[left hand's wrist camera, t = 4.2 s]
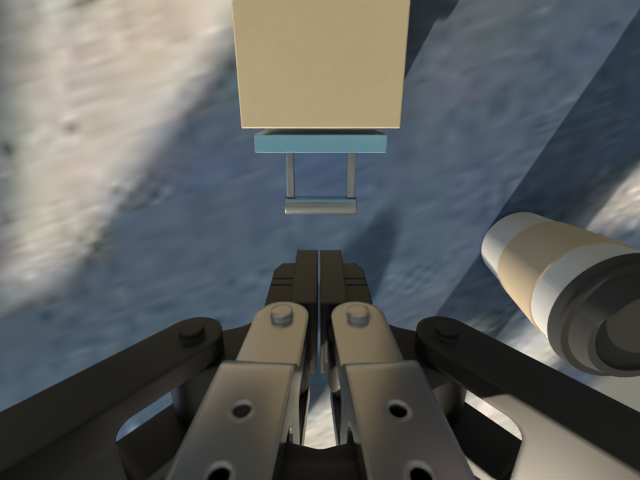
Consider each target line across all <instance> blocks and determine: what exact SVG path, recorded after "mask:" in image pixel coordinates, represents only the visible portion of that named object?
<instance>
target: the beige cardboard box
mask: <svg viewBox="0 0 640 480" xmlns="http://www.w3.org/2000/svg"><path fill="white" fill-rule="evenodd" d="M231 1H232V13H233V26H234V38H235V50H236V63H237V75H238V88H239V100H240V113H241V125H242V128H400V123H401V111H402V99H403V86H404V74H405V62H406V50H407V38H408V26H409V13H410V1H411V0H231Z"/></svg>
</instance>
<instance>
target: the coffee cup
mask: <svg viewBox="0 0 640 480" xmlns="http://www.w3.org/2000/svg"><path fill="white" fill-rule="evenodd" d="M482 257H483V260H484V262H485V264H486V265H487V266H488V267H489V269H490V270H491V271H492V272H493V273H494V275H495V276H496V277H497V278H498V279H499V281H500V283H501V285H502V287H503V288H504V289H505V290H506V292H507V293H508V294H509V295H510V296H511V298H512V299H513V300H514V301H515V302H516V304H517V305H518V306H519V307H520V308H521V310H522V311H523V312H524V313H525V315H526V316H527V317H528V318H529V319H530V321H531V322H532V323H533V324H534V325H535V327H536V328H537V329H538V330H539V331H540V332H541V333H542V334H544V335H545V336H546V337H547V338H548V339H549V342H550V345H551V347H552V348H553V350H554V351H555V353H556V354H557V355H558V356H559V357H560V358H562V359H563V360H565V361H566V362H567V363H568V364H569V365H570V366H572V367H573V368H575V369H577V370H579V371H581V372H584V373H587V374H592V375H599V376H615V377H634V376H640V252H639V251H638V250H636V249H635V248H633V247H632V246H630V245H627V244H624V243H622V242H619V241H616V240H613V239H610V238H607V237H604V236H601V235H599V234H596V233H593V232H590V231H587V230H584V229H581V228H579V227H576V226H573V225H570V224H567V223H564V222H558V221H553V220H551V219H548V218H545V217H542V216H540V215H537V214H534V213H530V212H518V213H513V214H510V215H508V216H506V217H504V218H502V219H500V220H499V221H498V222H496V223H495V224H494V225H493V226H492V227H491V228H490V229H489V231H488V232H487V234H486V235H485V237H484V240H483V243H482Z"/></svg>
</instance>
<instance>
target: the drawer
mask: <svg viewBox="0 0 640 480" xmlns="http://www.w3.org/2000/svg"><path fill="white" fill-rule="evenodd" d="M387 136H388V135H386V134H384V133H381V132H379V131H376V130H374V129H268V130H265V131H263V132H260V133H258V134H256V135H254V140H255V152H256V153H286V174H287V197H285V214H286V215H355V214H356V211H357V199H356V197H354V189H355V162H356V153H386V150H387ZM294 153H348V160H347V194H346V196H347V197H295V178H294Z"/></svg>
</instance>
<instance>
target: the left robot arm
mask: <svg viewBox="0 0 640 480" xmlns="http://www.w3.org/2000/svg"><path fill="white" fill-rule="evenodd" d="M320 319H321V374H328V385H329V388H330V400H331V408H332V416H333V423H334V431H335V439H336V446H334V447H330V448H326V449H314V448H310V447H306V446H304V439H305V431H306V423H307V416H308V408H309V400H310V374H317V340H318V250H297V256H296V263H282V264H281V265H280V266H279V267H278V268H277V269H275V271H274V274H273V279H272V282H271V286H270V289H269V292H268V296H267V299H266V303H265V306H264V307H262V308H261V309H260V310H259V311H258V312H257V313H256V315H255V317H254V320H253V322H252V323H250V324H248V325H246V326H243V327H239V328H235V329H230V330H225V331H222V326H221V324H220V323H219V322H218V321H217V320H214V319H212V318H207V317H196V318H190V319H186V320H183V321H180V322H178V323H176V324H174V325H172V326H170V327H168V328H166V329H164V330H162V331H160V332H158V333H156V334H154V335H152V336H150V337H148V338H146V339H144V340H142V341H140V342H138V343H136V344H134V345H132V346H130V347H128V348H126V349H125V350H123V351H121V352H119V353H117V354H115V355H113V356H111V357H109V358H107V359H105V360H103V361H101V362H99V363H97V364H95V365H93V366H91V367H89V368H87V369H85V370H83V371H81V372H79V373H77V374H75V375H73V376H71V377H69V378H67V379H65V380H63V381H61V382H59V383H57V384H55V385H53V386H51V387H49V388H47V389H45V390H43V391H41V392H40V393H38V394H36V395H34V396H32V397H30V398H28V399H26V400H24V401H22V402H20V403H18V404H16V405H14V406H12V407H10V408H8V409H6V410H4V411H2V412H0V480H640V412H638V411H636V410H634V409H632V408H630V407H628V406H626V405H624V404H622V403H620V402H618V401H616V400H614V399H612V398H610V397H608V396H606V395H604V394H602V393H600V392H598V391H597V390H595V389H593V388H591V387H589V386H587V385H585V384H583V383H581V382H579V381H577V380H575V379H573V378H571V377H569V376H567V375H565V374H563V373H561V372H559V371H557V370H555V369H553V368H551V367H549V366H547V365H545V364H543V363H541V362H539V361H537V360H535V359H533V358H531V357H529V356H527V355H525V354H523V353H521V352H519V351H517V350H515V349H513V348H512V347H510V346H508V345H506V344H504V343H502V342H500V341H498V340H496V339H494V338H492V337H490V336H488V335H486V334H484V333H482V332H480V331H478V330H476V329H474V328H472V327H470V326H468V325H466V324H464V323H462V322H460V321H458V320H455V319H451V318H447V317H438V316H437V317H428V318H425V319H423V320H421V321H420V322H419V323H418V325H417V328H416V331H412V330H407V329H402V328H398V327H395V326H392V325H389V324H388V322H387V320H386V317H385V315H384V313H383V312H382V311H381V310H380V309H379V308H378V307H376V306H374V305H373V304H372V300H371V296H370V293H369V289H368V286H367V281H366V278H365V274H364V270H363V269H361V268H360V267H359V266H358V265H357V264H343V262H342V256H341V250H320ZM467 390H468V391H470V392H472V393H473V394H475V395H476V396H478V397H479V398H481V399H482V400H484V401H485V402H487V403H488V404H490V405H491V406H493V407H494V408H496V409H497V410H499V411H500V412H502V413H504V414H505V415H507V416H508V417H509V418H510V419H511V420H513V422H514V423H515V424H516V425H517V427H518V428H519V430H520V432H521V435H522V441H521V440H520V439H518V438H517V437H515V436H514V435H513V434H511V433H510V432H508V431H507V430H505V429H504V428H502V427H501V426H499V425H498V424H497V423H495V422H494V421H492V420H491V419H489V418H488V417H486V416H485V415H483V414H482V413H481V412H479V411H478V410H476V409H475V408H473V407H472V406H470V405H469V404H467V403H466V402H465V396H466V391H467ZM170 391H171V395H172V400H173V404H171V405H170V406H168V407H167V408H165V409H164V410H162V411H161V412H159V413H158V414H157V415H155V416H154V417H152V418H151V419H149V420H148V421H146V422H145V423H143V424H142V425H141V426H139V427H138V428H136V429H135V430H133V431H132V432H130V433H129V434H127V435H126V436H125V437H123V438H122V439H120V440H119V441H117V442H116V436H117V433H118V431H119V429H120V428H121V426H122V425H123V424H124V423H125V422H126V421H127V420H128V419H129V418H131V417H132V416H133V415H135V414H136V413H138V412H139V411H141V410H143V409H144V408H146V407H147V406H149V405H150V404H152V403H153V402H155V401H156V400H158V399H159V398H161V397H162V396H164V395H165V394H167V393H168V392H170Z"/></svg>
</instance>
